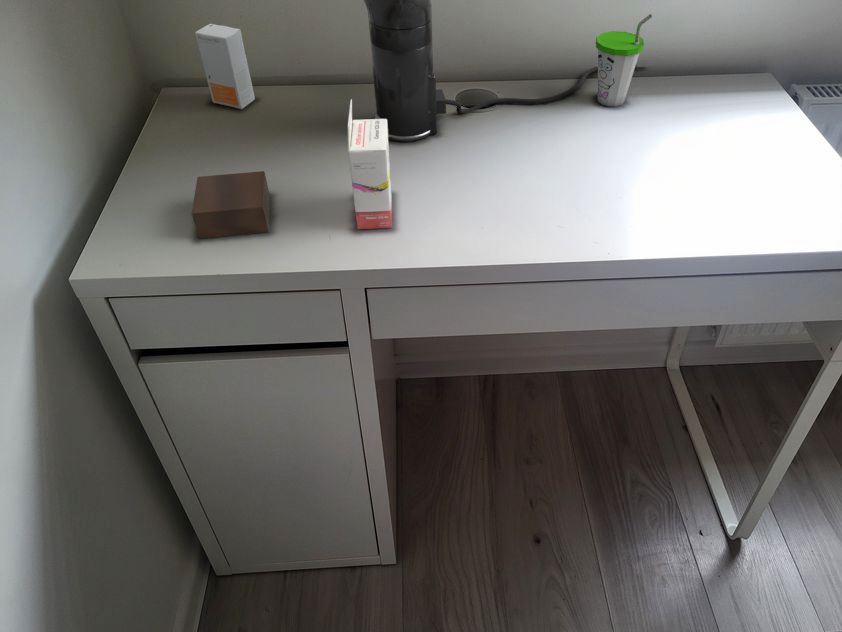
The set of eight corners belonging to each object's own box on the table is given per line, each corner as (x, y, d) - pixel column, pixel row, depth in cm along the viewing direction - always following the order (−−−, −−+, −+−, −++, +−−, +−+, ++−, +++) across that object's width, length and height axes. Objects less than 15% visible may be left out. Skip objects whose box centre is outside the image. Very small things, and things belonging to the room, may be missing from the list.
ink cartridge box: (393, 229, 96) (385, 127, 85) (356, 230, 95) (344, 129, 85) (393, 194, 102) (385, 95, 91) (358, 195, 101) (347, 96, 91)
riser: (269, 195, 101) (264, 170, 98) (268, 232, 95) (262, 207, 92) (204, 201, 100) (197, 176, 97) (199, 238, 94) (191, 213, 91)
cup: (578, 98, 123) (589, 8, 113) (610, 86, 127) (624, -3, 116) (610, 115, 119) (625, 23, 108) (643, 103, 122) (660, 12, 112)
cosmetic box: (211, 103, 121) (193, 31, 112) (227, 93, 124) (209, 22, 115) (242, 110, 119) (225, 38, 111) (256, 99, 122) (241, 28, 113)
